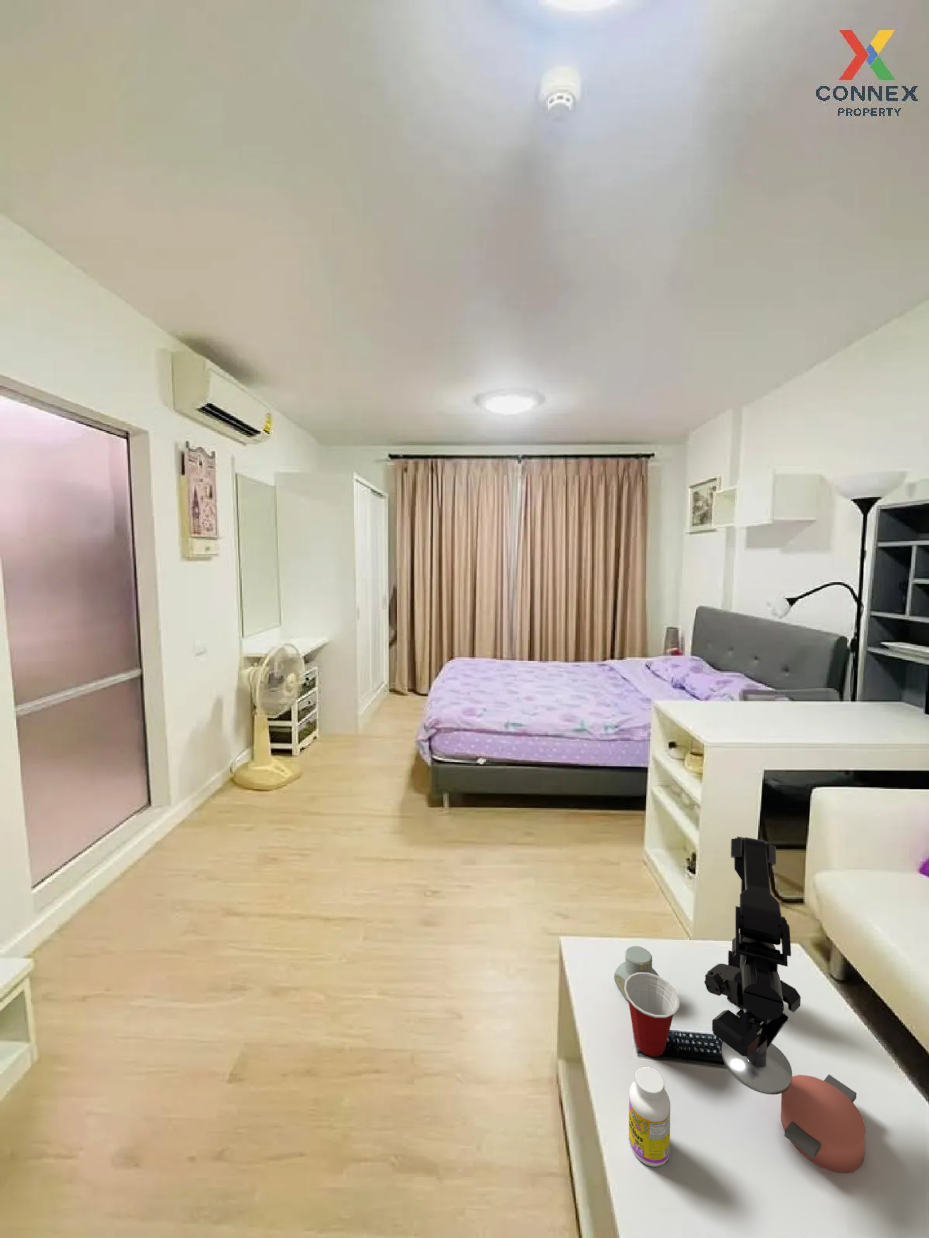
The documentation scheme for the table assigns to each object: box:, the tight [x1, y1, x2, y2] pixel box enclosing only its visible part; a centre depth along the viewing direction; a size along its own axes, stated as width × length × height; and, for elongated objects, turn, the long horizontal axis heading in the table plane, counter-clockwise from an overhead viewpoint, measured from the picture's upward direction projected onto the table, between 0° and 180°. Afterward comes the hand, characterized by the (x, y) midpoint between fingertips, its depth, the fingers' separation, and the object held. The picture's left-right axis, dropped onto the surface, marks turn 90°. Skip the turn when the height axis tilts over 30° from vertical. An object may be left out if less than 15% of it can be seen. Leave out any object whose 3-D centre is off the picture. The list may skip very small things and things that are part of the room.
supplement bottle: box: [628, 1066, 671, 1168], centre depth 90 cm, size 7×7×13 cm
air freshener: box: [613, 945, 660, 1001], centre depth 123 cm, size 11×8×10 cm
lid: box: [721, 1030, 793, 1096], centre depth 94 cm, size 11×11×6 cm
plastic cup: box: [624, 972, 680, 1057], centre depth 110 cm, size 11×11×12 cm
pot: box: [780, 1074, 866, 1174], centre depth 92 cm, size 17×12×5 cm
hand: (756, 1055), depth 94 cm, fingers closed on lid, 3 cm apart
